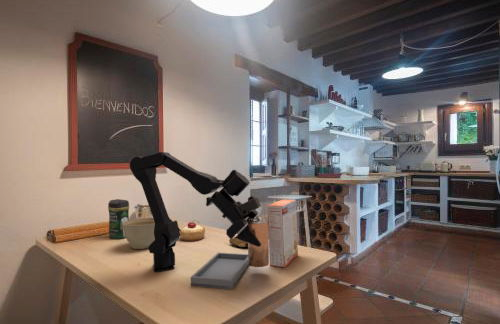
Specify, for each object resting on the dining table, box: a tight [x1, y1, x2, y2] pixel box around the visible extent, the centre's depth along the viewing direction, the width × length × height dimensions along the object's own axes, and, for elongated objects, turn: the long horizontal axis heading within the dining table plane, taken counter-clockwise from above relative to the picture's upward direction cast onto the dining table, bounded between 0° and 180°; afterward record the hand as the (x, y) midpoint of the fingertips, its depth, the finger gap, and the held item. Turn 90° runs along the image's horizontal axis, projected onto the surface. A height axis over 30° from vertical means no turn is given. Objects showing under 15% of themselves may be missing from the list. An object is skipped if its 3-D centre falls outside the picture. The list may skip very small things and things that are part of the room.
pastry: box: [179, 219, 206, 242], centre depth 132 cm, size 12×12×9 cm
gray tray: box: [190, 252, 250, 291], centre depth 90 cm, size 13×22×2 cm, turn 166°
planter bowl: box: [122, 217, 155, 250], centre depth 121 cm, size 16×16×11 cm
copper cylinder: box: [247, 217, 270, 268], centre depth 87 cm, size 6×6×14 cm
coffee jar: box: [107, 198, 130, 240], centre depth 137 cm, size 10×8×19 cm
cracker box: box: [267, 198, 299, 268], centre depth 100 cm, size 14×6×21 cm, turn 152°
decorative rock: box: [228, 236, 248, 249], centre depth 119 cm, size 11×4×15 cm
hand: (262, 242), depth 87 cm, fingers closed on copper cylinder, 6 cm apart
